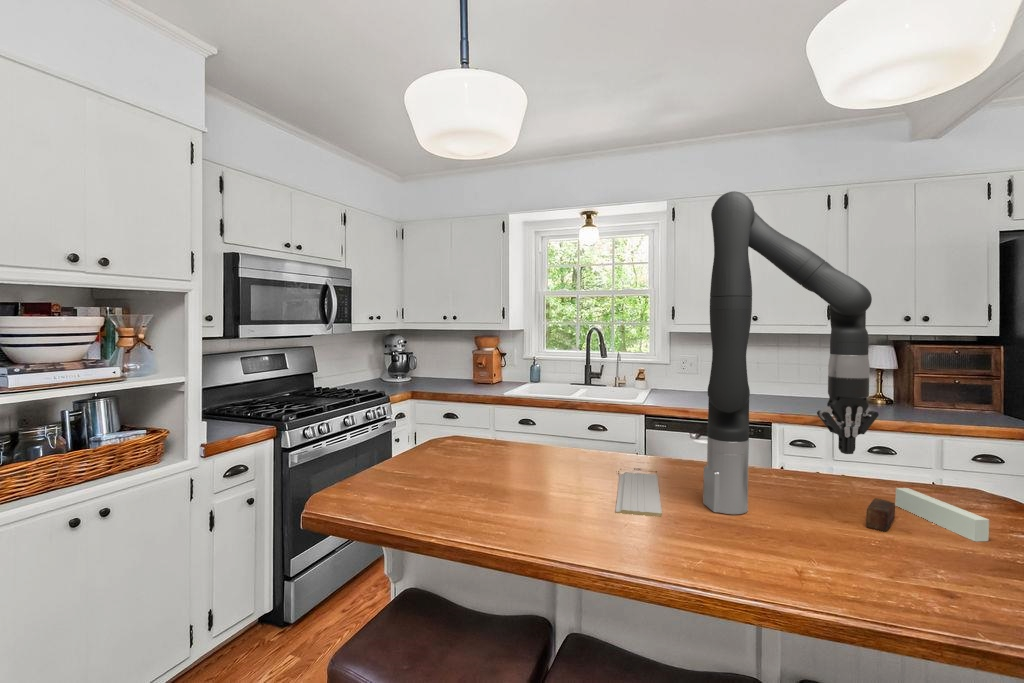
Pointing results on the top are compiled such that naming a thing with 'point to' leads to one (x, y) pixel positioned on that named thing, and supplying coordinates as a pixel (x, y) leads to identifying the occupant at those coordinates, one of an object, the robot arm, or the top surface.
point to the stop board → (943, 514)
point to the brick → (880, 515)
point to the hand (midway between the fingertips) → (846, 453)
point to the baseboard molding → (638, 494)
